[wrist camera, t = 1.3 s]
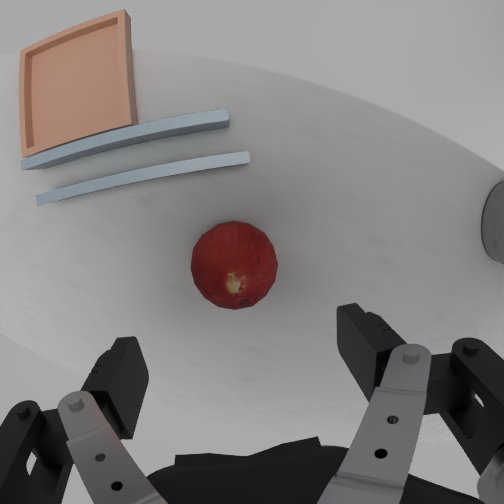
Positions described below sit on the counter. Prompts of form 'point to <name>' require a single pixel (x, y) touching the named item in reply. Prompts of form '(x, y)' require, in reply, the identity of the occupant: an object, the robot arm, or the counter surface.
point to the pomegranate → (234, 265)
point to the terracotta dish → (77, 84)
